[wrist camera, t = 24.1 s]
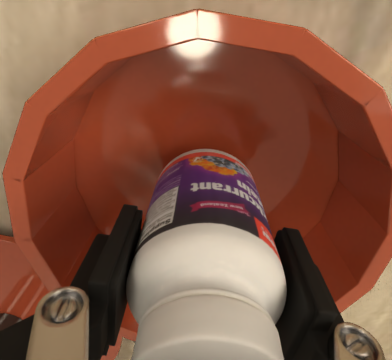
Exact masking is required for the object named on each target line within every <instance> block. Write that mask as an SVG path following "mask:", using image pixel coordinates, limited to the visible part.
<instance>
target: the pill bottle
mask: <svg viewBox="0 0 392 360" xmlns="http://www.w3.org/2000/svg"><path fill="white" fill-rule="evenodd" d="M126 295H127V301H128V305H129V308H130V310H131V313H132V315H133V316H134V318H135V320H136V321H137V323H138V324H139V326H138V332H137V337H136V341H135V345H134V350H133V355H132V360H284V357H283V353H282V348H281V343H280V337H279V333H278V331H277V328H276V326H275V324H276V323H277V321H278V320H279V318H280V316H281V314H282V312H283V310H284V306H285V303H286V297H287V284H286V278H285V275H284V270H283V266H282V263H281V260H280V257H279V254H278V252H277V249H276V245H275V242H274V239H273V236H272V233H271V230H270V227H269V224H268V221H267V218H266V214H265V211H264V208H263V205H262V202H261V199H260V196H259V193H258V190H257V187H256V184H255V181H254V179H253V177H252V175H251V173H250V172H249V170H248V169H247V167H246V166H245V165H244V164H243V163H242V162H241V161H240V160H238V159H237V158H235V157H234V156H232V155H230V154H228V153H225V152H223V151H219V150H214V149H197V150H192V151H188V152H185V153H183V154H181V155H179V156H177V157H176V158H174V159H173V160H172V161H171V162H169V164H168V165H167V166H166V167H165V168H164V169H163V171H162V172H161V174H160V176H159V178H158V181H157V183H156V186H155V189H154V192H153V195H152V198H151V201H150V205H149V208H148V211H147V214H146V217H145V220H144V224H143V227H142V230H141V233H140V236H139V240H138V243H137V246H136V249H135V252H134V255H133V258H132V261H131V265H130V269H129V273H128V277H127V283H126Z"/></svg>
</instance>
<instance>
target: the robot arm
mask: <svg viewBox="0 0 392 360" xmlns="http://www.w3.org/2000/svg"><path fill="white" fill-rule="evenodd" d="M142 214H143V211H142V210H138V206H135V205H128V204H124V205H123V207H122V209H121V211H120V213H119V216H118V218H117V220H116V222H115V224H114V226H113V229H112V231H111V233H110V235H106V234H97V235H96V237H95V239H94V240H93V242H92V244H91V246H90V248H89V250H88V252H87V254H86V256H85V258H84V260H83V261H82V263H81V265H80V267H79V269H78V271H77V273H76V275H75V277H74V279H73V281H72V282H71V284H70V286H65V287H61V288H57V289H55V290H52V291H50V292H49V293H47V294H46V295H45V296H43V297H42V299H41V300H40V301H39V302H38V304H37V307H36V309H35V314H34V315H32V316H30V317H28V318H26V319H24V320H22V321H20V322H17V323H15V324H13V325H11V326H9V327H7V328H5V329H3V330H1V331H0V360H100V359H101V357H102V355H103V356H107V352H108V349H109V346H115V344H116V341H117V338H118V334H119V331H120V327H121V324H122V320H123V317H124V313H125V309H126V306H127V302H128V301H127V295H126V283H127V277H128V273H129V269H130V265H131V261H132V258H133V255H134V252H135V249H136V246H137V243H138V240H139V236H140V233H141V226H142ZM274 242H275V245H276V249H277V252H278V254H279V257H280V260H281V263H282V266H283V270H284V275H285V278H286V284H287V297H286V303H285V306H284V310H283V312H282V314H281V316H280V318H279V320H278V321H277V323H276V324H275V326H276V328H277V331H278V333H279V337H280V343H281V348H282V353H283V357H284V360H385V357H384V353H383V350H382V348H381V346H380V344H379V343H378V341H377V340H376V339H375V338H374V337H373V336H372V335H371V334H370V333H369V332H368V331H366V330H365V329H364V328H362V327H360V326H358V325H356V324H353V323H349V322H344V321H343V318H342V316H341V314H340V312H339V310H338V308H337V306H336V304H335V302H334V299H333V297H332V295H331V293H330V291H329V289H328V287H327V285H326V283H325V280H324V278H323V276H322V274H321V272H320V270H319V268H318V266H317V265H316V264H314V262H313V260H312V258H311V255H310V253H309V251H308V249H307V247H306V245H305V242H304V240H303V238H302V236H301V234H300V232H299V230H298V229H293V228H286V227H284V228H283V229H282V230H278V231H277V233H276V236H275V239H274Z"/></svg>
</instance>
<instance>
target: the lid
mask: <svg viewBox="0 0 392 360" xmlns="http://www.w3.org/2000/svg"><path fill="white" fill-rule="evenodd" d="M49 292H50V291H48V290H47V288H46V287H45V285H44V284H43V282H42V281H41V279H40V278H39V276H38V275H37V273H36V272H35V270H34V269H33V268H32V266H31V265H30V263H29V262H28V260H27V259H26V257H25V256H24V254H23V253H22V251H21V250H20V248H19V247H18V245H17V244H16V242H15V239H14V237H11V236H5V235H0V331H1V330H3V329H5V328H7V327H9V326H11V325H13V324H15V323H17V322H20V321H22V320H24V319H26V318H28V317H30V316H32V315H34V314H35V309H36V307H37V304H38V302H39V301H40V300H41V299H42V297H43V296H45V295H46V294H47V293H49ZM122 338H123V337H121V336H118V338H117V341H116V344H115V346H109V349H108V352H107V356H103V355H102V357H101V359H100V360H114V359H115V358H116V356H117V354H118V352H119V349H120V347H121V343H122Z"/></svg>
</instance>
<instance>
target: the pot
mask: <svg viewBox="0 0 392 360" xmlns="http://www.w3.org/2000/svg"><path fill="white" fill-rule="evenodd" d="M197 149H214V150H219V151H223V152H225V153H228V154H230V155H232V156H234V157H235V158H237V159H238V160H240V161H241V162H242V163H243V164H244V165H245V166H246V167H247V169H248V170H249V172H250V173H251V175H252V177H253V179H254V181H255V184H256V187H257V190H258V193H259V196H260V199H261V202H262V205H263V208H264V211H265V214H266V218H267V221H268V224H269V227H270V230H271V233H272V236H273V239H275V236H276V233H277V231H278V230H282V229H283V228H284V227H286V228H293V229H298V230H299V232H300V234H301V236H302V238H303V240H304V242H305V245H306V247H307V249H308V251H309V253H310V255H311V258H312V260H313V262H314V264H316V265H317V266H318V268H319V270H320V272H321V274H322V276H323V278H324V280H325V283H326V285H327V287H328V289H329V291H330V293H331V295H332V297H333V299H334V302H335V304H336V306H337V308H338V310H339V312H340V313H341V312H343V311H344V310H345V309H347V308H348V307H349V306H350V305H352V304H353V303H354V302H356V301H357V300H358V299H360V298H361V297H362V296H363V295H365V294H366V293H367V292H369V291H370V290H371V289H372V288H373V287H374V285H375V283H376V282H377V280H378V279H379V277H380V275H381V274H382V272H383V271H384V269H385V268H386V266H387V264H388V263H389V261H390V260H391V258H392V107H391V104H390V102H389V100H388V97H387V95H386V92H385V90H384V89H383V87H382V86H381V85H379V84H378V83H377V82H376V81H374V80H373V79H372V78H370V77H369V76H368V75H366V74H365V73H364V72H363V71H361V70H360V69H359V68H357V67H356V66H355V65H353V64H352V63H351V62H350V61H348V60H347V59H346V58H344V57H343V56H342V55H340V54H339V53H338V52H337V51H335V50H334V49H333V48H331V47H330V46H329V45H327V44H326V43H325V42H324V41H322V40H321V39H320V38H318V37H317V36H316V35H314V34H313V33H312V32H310V31H309V30H308V29H305V28H303V27H298V26H292V25H287V24H281V23H276V22H270V21H265V20H259V19H253V18H248V17H242V16H237V15H231V14H226V13H220V12H215V11H209V10H204V9H193V10H190V11H186V12H183V13H179V14H176V15H172V16H169V17H165V18H161V19H158V20H154V21H151V22H147V23H144V24H140V25H137V26H133V27H130V28H126V29H123V30H119V31H116V32H112V33H109V34H105V35H102V36H98V37H95V38H94V39H92V40H91V41H90V42H89V43H88V44H87V45H86V46H84V47H83V48H82V49H81V50H80V51H79V52H78V53H77V54H76V55H75V56H74V57H73V58H72V59H71V60H69V61H68V62H67V63H66V64H65V65H64V66H63V67H62V68H61V69H60V70H59V71H58V72H57V73H56V74H55V75H53V76H52V77H51V78H50V79H49V80H48V81H47V82H46V83H45V84H44V85H43V86H42V87H41V88H40V89H38V90H37V91H36V92H35V93H34V94H33V95H32V96H31V97H30V98H29V99H28V100H27V102H25V105H24V108H23V111H22V114H21V117H20V120H19V124H18V127H17V130H16V133H15V136H14V139H13V142H12V145H11V148H10V152H9V155H8V158H7V161H6V164H5V167H4V170H3V173H2V174H3V180H4V186H5V192H6V197H7V203H8V208H9V214H10V219H11V225H12V230H13V236H14V239H15V242H16V244H17V245H18V247H19V248H20V250H21V251H22V253H23V254H24V256H25V257H26V259H27V260H28V262H29V263H30V265H31V266H32V268H33V269H34V270H35V272H36V273H37V275H38V276H39V278H40V279H41V281H42V282H43V284H44V285H45V287H46V288H47V290H48V291H52V290H55V289H57V288H61V287H65V286H70V284H71V282H72V281H73V279H74V277H75V275H76V273H77V271H78V269H79V267H80V265H81V263H82V261H83V260H84V258H85V256H86V254H87V252H88V250H89V248H90V246H91V244H92V242H93V240H94V239H95V237H96V235H97V234H106V235H110V233H111V231H112V229H113V226H114V224H115V222H116V220H117V218H118V216H119V213H120V211H121V209H122V207H123V205H124V204H128V205H135V206H138V210H142V211H143V214H142V226H141V230H142V227H143V224H144V220H145V217H146V214H147V211H148V208H149V205H150V201H151V198H152V195H153V192H154V189H155V186H156V183H157V181H158V178H159V176H160V174H161V172H162V171H163V169H164V168H165V167H166V166H167V165H168V164H169V162H171V161H172V160H173V159H174V158H176V157H177V156H179V155H181V154H183V153H185V152H188V151H192V150H197ZM138 326H139V324H138V323H137V321H136V320H135V318H134V316H133V315H132V313H131V310H130V308H129V305H128V302H127V306H126V309H125V313H124V317H123V320H122V324H121V327H120V331H119V334H118V336H121V337H124V338H126V339H129V340H132V341H134V342H135V341H136V337H137V332H138Z"/></svg>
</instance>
